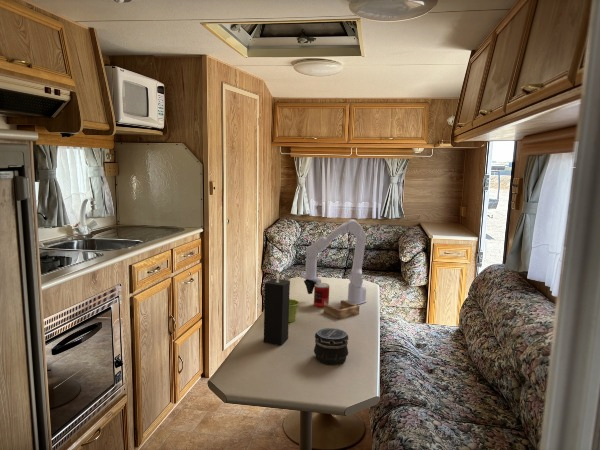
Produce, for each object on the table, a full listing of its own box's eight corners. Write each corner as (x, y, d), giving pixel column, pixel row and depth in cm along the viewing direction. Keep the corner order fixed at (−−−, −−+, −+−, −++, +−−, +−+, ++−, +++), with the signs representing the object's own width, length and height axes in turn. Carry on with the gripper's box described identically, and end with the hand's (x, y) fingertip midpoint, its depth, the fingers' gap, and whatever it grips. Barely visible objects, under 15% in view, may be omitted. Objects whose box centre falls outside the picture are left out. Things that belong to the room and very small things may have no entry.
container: (313, 350, 169) (314, 326, 168) (346, 352, 169) (347, 327, 167) (313, 365, 156) (314, 339, 155) (349, 367, 156) (350, 340, 155)
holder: (342, 307, 222) (342, 300, 222) (359, 314, 213) (359, 306, 213) (323, 312, 214) (323, 304, 213) (340, 319, 205) (340, 311, 205)
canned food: (328, 303, 229) (329, 283, 227) (328, 308, 221) (329, 287, 219) (314, 302, 229) (315, 282, 228) (313, 307, 221) (314, 286, 220)
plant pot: (303, 320, 202) (303, 302, 201) (288, 325, 195) (289, 306, 194) (288, 315, 208) (289, 297, 207) (274, 320, 201) (274, 301, 200)
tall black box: (288, 338, 180) (290, 272, 176) (281, 346, 172) (283, 277, 169) (270, 336, 182) (272, 270, 178) (263, 342, 175) (264, 274, 171)
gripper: (296, 266, 233) (295, 291, 234) (314, 272, 221) (313, 298, 223) (306, 265, 237) (305, 289, 239) (324, 270, 226) (323, 296, 228)
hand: (310, 293), depth 231 cm, fingers closed
